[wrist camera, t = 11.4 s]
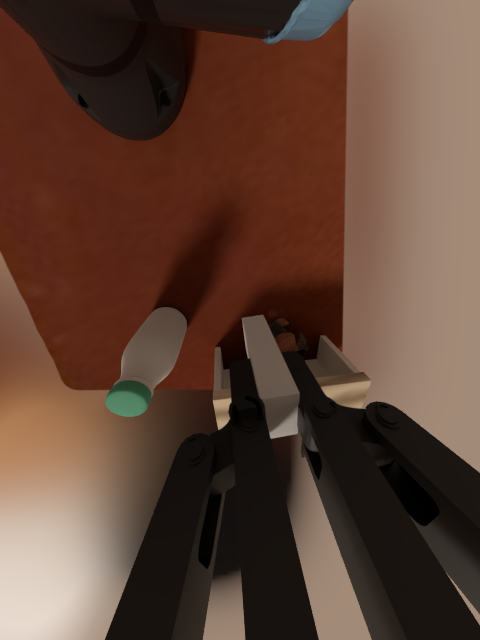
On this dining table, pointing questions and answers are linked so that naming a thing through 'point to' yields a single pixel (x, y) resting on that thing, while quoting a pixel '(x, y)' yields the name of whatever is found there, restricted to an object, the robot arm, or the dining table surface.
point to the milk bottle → (147, 361)
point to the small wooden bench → (328, 370)
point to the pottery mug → (287, 338)
